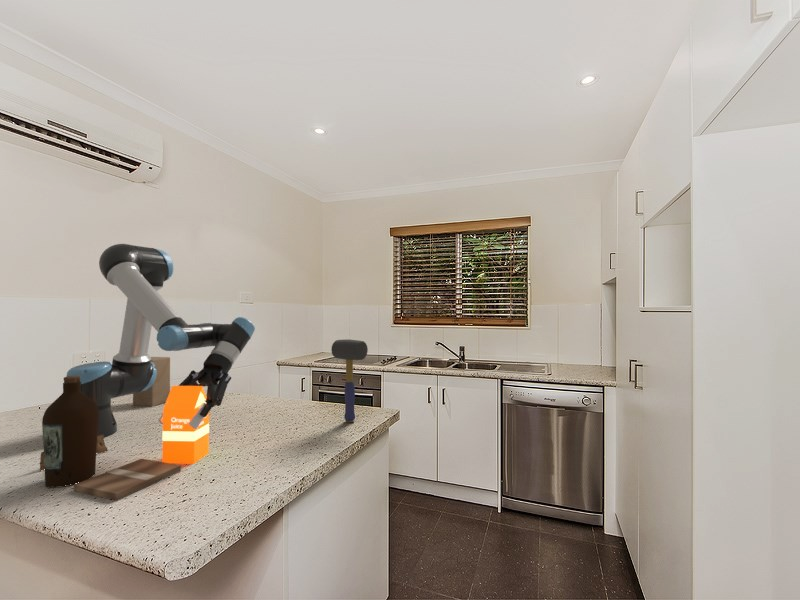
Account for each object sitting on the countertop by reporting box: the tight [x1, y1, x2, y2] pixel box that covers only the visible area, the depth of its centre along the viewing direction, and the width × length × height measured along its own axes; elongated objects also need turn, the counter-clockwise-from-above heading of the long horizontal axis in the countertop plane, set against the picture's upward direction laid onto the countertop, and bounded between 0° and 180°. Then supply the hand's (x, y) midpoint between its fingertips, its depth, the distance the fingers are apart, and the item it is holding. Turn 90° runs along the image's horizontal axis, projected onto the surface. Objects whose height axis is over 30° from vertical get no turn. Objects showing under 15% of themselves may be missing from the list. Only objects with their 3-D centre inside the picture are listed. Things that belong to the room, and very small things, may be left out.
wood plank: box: [38, 434, 108, 472], centre depth 106 cm, size 15×2×5 cm, turn 159°
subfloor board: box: [73, 458, 182, 502], centre depth 93 cm, size 14×16×2 cm
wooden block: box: [132, 356, 171, 408], centre depth 170 cm, size 10×10×20 cm
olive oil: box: [41, 376, 99, 488], centre depth 95 cm, size 11×11×25 cm
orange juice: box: [161, 385, 210, 465], centre depth 107 cm, size 8×9×20 cm
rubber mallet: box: [331, 338, 369, 423], centre depth 141 cm, size 12×8×30 cm, turn 59°
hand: (177, 424), depth 104 cm, fingers closed on orange juice, 10 cm apart
